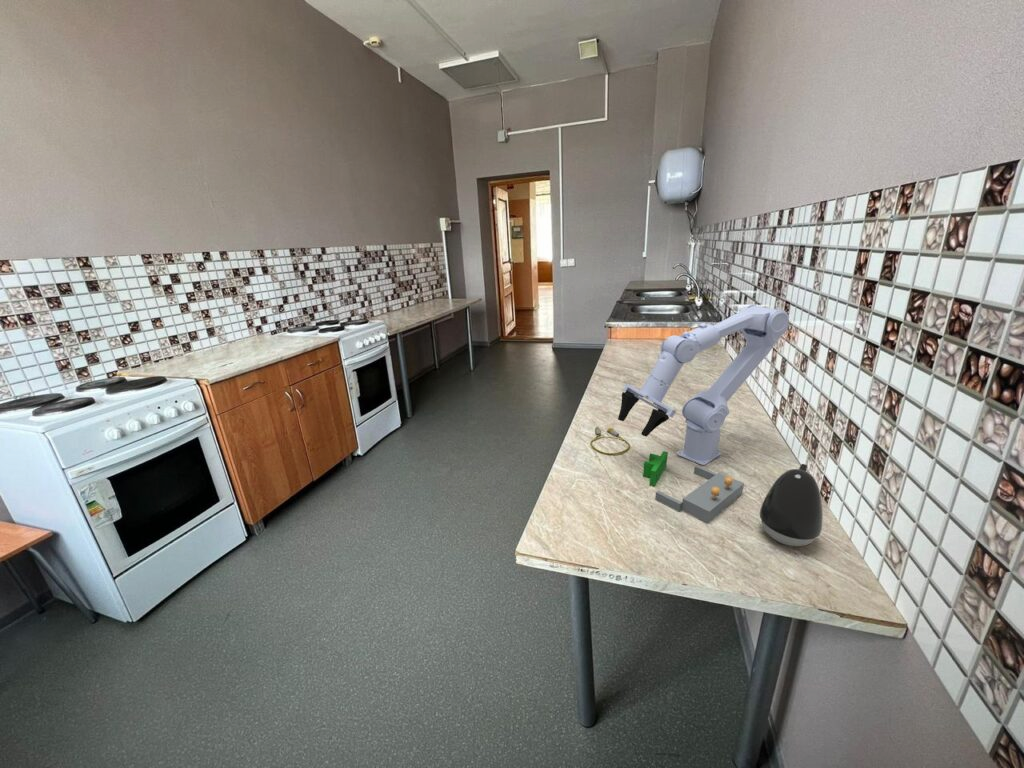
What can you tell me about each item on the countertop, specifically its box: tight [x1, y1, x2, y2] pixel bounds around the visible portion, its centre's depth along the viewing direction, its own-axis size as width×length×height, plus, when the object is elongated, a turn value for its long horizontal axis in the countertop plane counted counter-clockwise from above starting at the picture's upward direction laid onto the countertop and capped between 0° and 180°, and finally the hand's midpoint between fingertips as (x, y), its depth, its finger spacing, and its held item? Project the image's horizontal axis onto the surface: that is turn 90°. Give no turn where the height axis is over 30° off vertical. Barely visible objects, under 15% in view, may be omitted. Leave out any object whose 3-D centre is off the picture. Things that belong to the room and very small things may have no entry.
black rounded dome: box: [759, 463, 824, 547], centre depth 79 cm, size 10×10×15 cm
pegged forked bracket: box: [654, 464, 745, 524], centre depth 94 cm, size 18×12×6 cm, turn 128°
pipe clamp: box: [642, 450, 669, 488], centre depth 104 cm, size 11×4×5 cm, turn 145°
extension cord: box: [590, 426, 631, 457], centre depth 121 cm, size 12×16×2 cm
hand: (631, 427), depth 103 cm, fingers open, 7 cm apart
